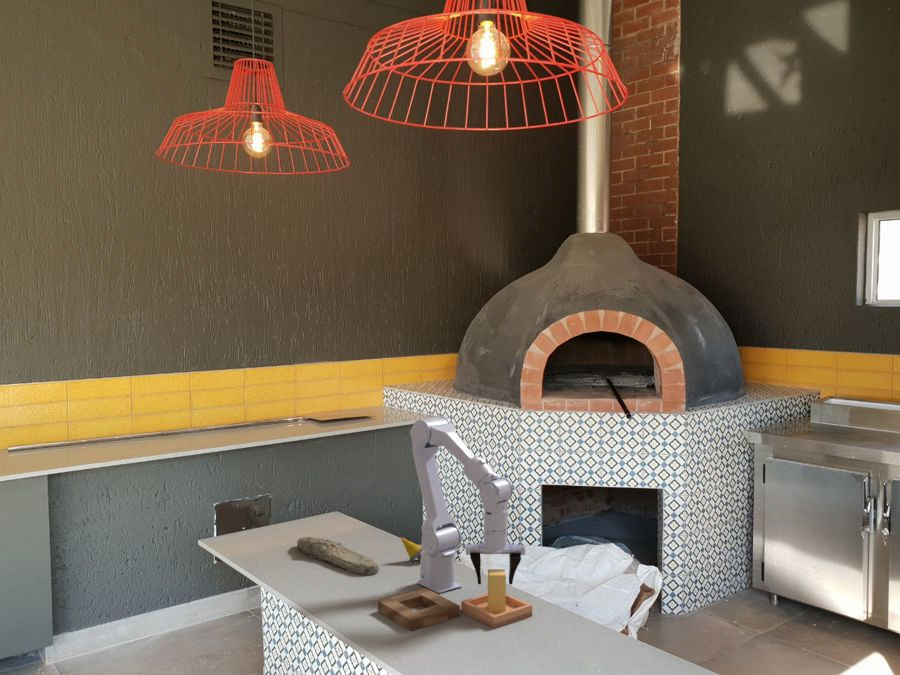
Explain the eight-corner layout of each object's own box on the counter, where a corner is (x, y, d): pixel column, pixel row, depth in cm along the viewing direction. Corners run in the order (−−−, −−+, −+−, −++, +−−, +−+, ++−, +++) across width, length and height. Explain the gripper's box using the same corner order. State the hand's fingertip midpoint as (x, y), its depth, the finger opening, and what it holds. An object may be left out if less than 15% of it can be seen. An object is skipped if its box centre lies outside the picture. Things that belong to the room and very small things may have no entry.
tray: (461, 611, 180) (461, 601, 180) (498, 600, 188) (498, 590, 188) (493, 628, 171) (494, 617, 171) (532, 615, 178) (532, 605, 178)
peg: (488, 612, 177) (489, 575, 177) (487, 606, 181) (487, 569, 181) (505, 612, 177) (505, 575, 177) (504, 606, 181) (504, 569, 181)
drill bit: (420, 568, 212) (396, 542, 213) (417, 570, 217) (392, 545, 218) (433, 554, 214) (408, 529, 215) (429, 556, 219) (405, 531, 220)
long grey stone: (359, 585, 201) (387, 578, 208) (360, 565, 201) (388, 559, 208) (286, 548, 226) (314, 543, 233) (288, 530, 226) (315, 526, 233)
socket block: (377, 611, 180) (378, 600, 180) (425, 597, 189) (425, 588, 189) (411, 631, 169) (411, 620, 169) (459, 616, 178) (459, 605, 177)
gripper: (466, 532, 180) (465, 588, 180) (526, 533, 180) (526, 589, 181) (465, 524, 187) (465, 578, 187) (523, 525, 187) (523, 578, 188)
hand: (494, 583), depth 184 cm, fingers open, 7 cm apart
